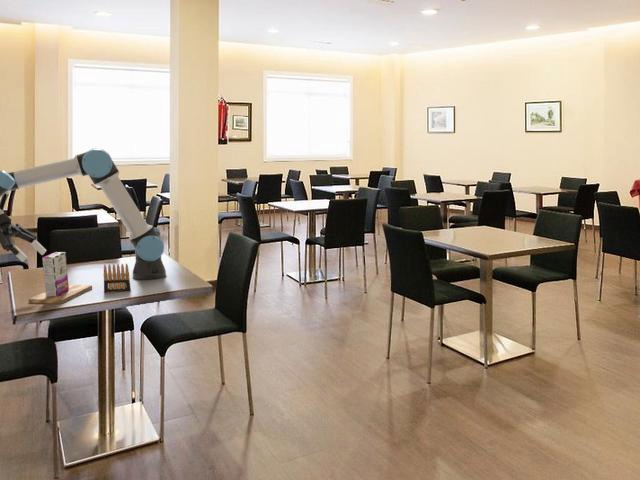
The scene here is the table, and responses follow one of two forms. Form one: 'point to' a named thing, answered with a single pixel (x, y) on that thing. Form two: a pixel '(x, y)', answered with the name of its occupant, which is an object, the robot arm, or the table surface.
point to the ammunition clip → (116, 279)
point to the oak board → (68, 295)
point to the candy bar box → (55, 274)
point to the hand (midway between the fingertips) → (34, 256)
